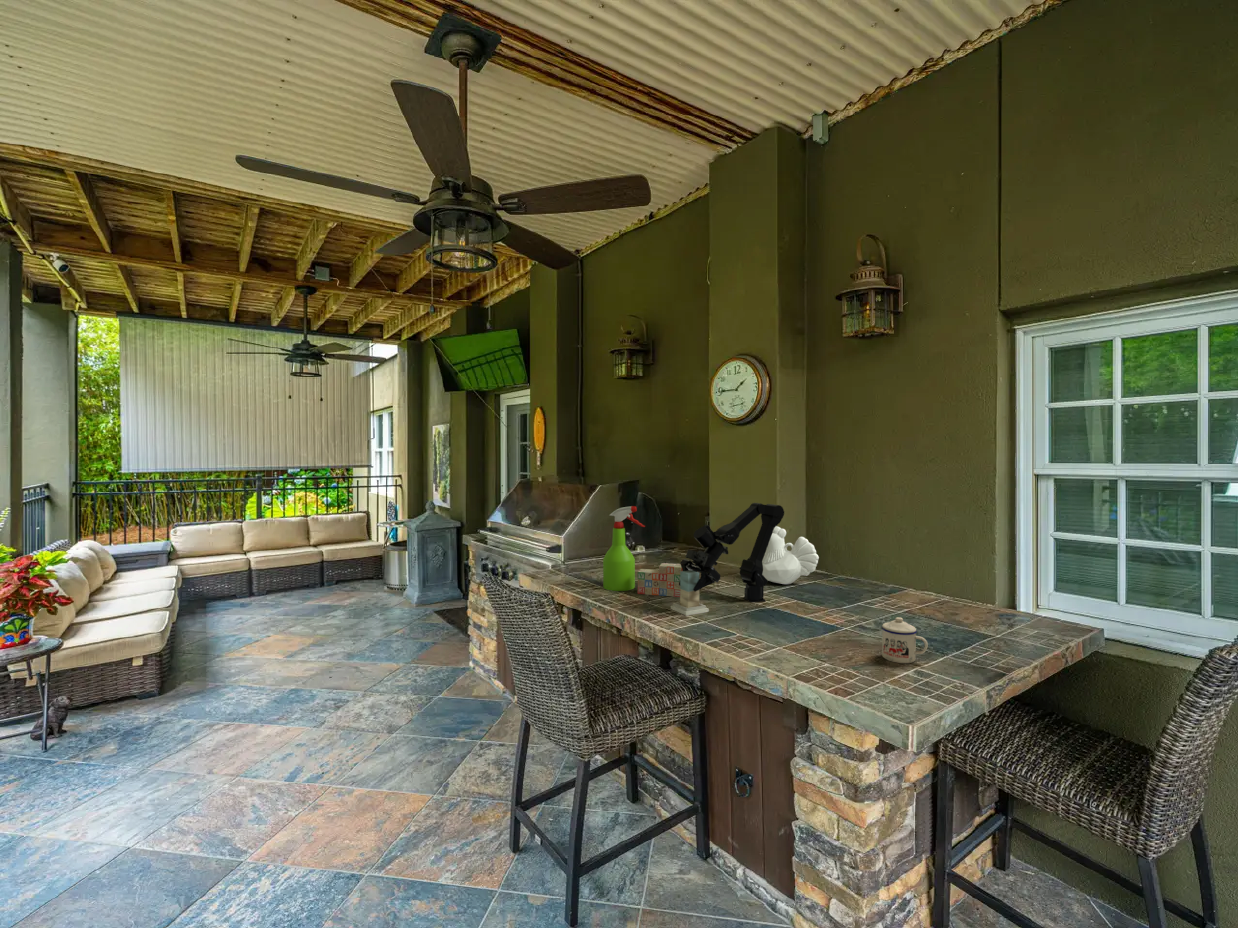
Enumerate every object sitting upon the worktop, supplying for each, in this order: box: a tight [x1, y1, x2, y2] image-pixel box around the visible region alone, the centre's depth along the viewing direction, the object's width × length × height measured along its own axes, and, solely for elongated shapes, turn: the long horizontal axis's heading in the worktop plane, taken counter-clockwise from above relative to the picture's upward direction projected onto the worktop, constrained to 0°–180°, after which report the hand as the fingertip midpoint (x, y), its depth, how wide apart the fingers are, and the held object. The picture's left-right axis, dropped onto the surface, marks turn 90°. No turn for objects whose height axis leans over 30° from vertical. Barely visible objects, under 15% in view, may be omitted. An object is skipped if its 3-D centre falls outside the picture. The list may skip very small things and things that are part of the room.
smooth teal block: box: [679, 570, 700, 608], centre depth 222 cm, size 5×5×13 cm
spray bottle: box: [602, 505, 646, 592], centre depth 257 cm, size 14×18×35 cm
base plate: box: [670, 601, 710, 616], centre depth 222 cm, size 10×10×2 cm
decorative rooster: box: [762, 525, 820, 585], centre depth 263 cm, size 25×16×25 cm, turn 44°
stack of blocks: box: [637, 562, 683, 598], centre depth 246 cm, size 21×6×12 cm, turn 74°
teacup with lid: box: [881, 616, 929, 664], centre depth 171 cm, size 12×9×12 cm
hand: (686, 588), depth 221 cm, fingers open, 9 cm apart
